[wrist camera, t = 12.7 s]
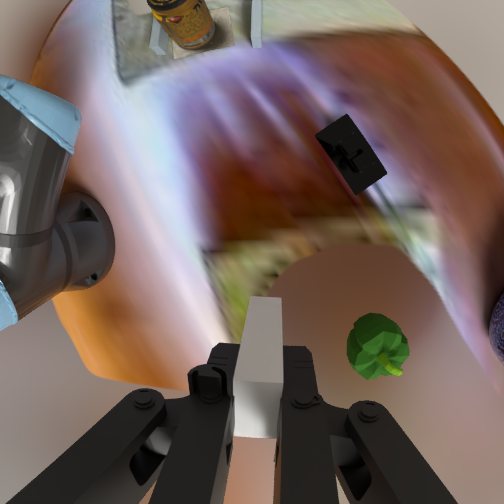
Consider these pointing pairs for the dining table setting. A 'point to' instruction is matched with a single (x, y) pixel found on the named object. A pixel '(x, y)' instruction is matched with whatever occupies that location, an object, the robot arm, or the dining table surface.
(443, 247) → the dining table surface
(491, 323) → the planter
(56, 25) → the dining table surface
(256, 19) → the bay
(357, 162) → the black angular block
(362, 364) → the bell pepper
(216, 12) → the condiment
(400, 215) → the dining table surface
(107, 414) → the robot arm
